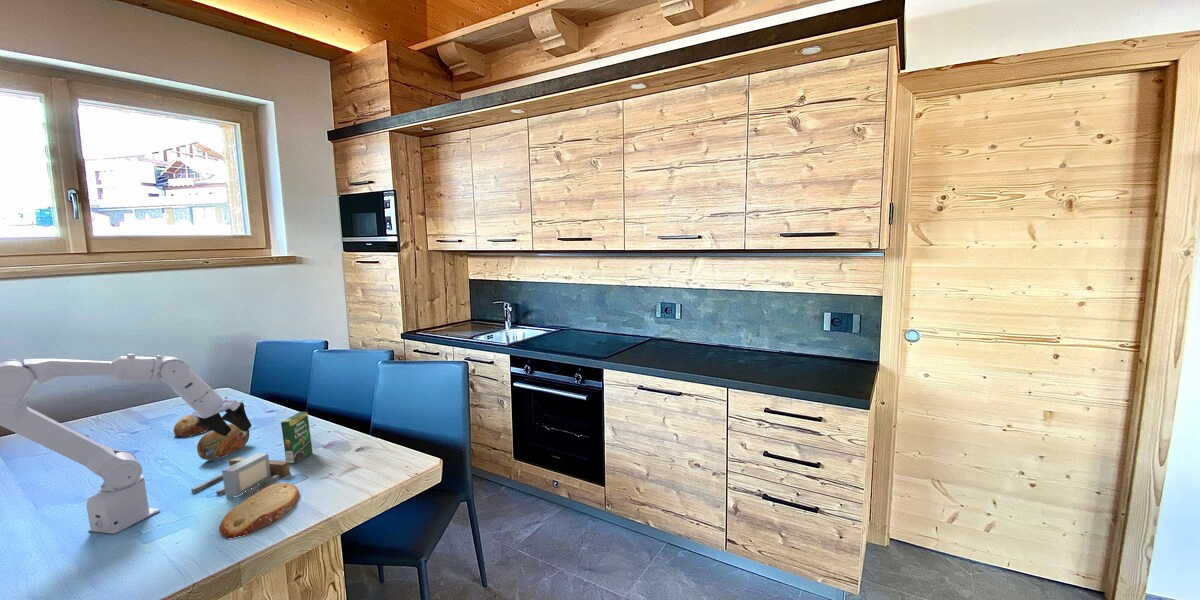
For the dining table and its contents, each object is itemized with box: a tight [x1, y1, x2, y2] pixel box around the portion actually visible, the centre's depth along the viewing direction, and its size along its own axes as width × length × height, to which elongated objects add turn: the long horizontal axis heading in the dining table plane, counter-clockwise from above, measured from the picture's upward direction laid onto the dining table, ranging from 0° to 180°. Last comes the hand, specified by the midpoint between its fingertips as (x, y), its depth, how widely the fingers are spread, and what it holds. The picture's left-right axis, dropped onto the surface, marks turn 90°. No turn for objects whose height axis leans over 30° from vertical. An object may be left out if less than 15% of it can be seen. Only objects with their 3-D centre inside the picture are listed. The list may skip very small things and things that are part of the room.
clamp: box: [191, 457, 291, 498], centre depth 130 cm, size 13×18×4 cm
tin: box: [196, 423, 250, 461], centre depth 150 cm, size 15×3×8 cm, turn 168°
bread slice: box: [218, 482, 300, 540], centre depth 116 cm, size 18×18×4 cm
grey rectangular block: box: [221, 452, 272, 497], centre depth 128 cm, size 10×4×7 cm, turn 168°
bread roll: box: [173, 413, 209, 438], centre depth 170 cm, size 10×10×8 cm
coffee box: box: [280, 411, 313, 465], centre depth 144 cm, size 8×3×13 cm, turn 175°
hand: (238, 431), depth 130 cm, fingers open, 7 cm apart
